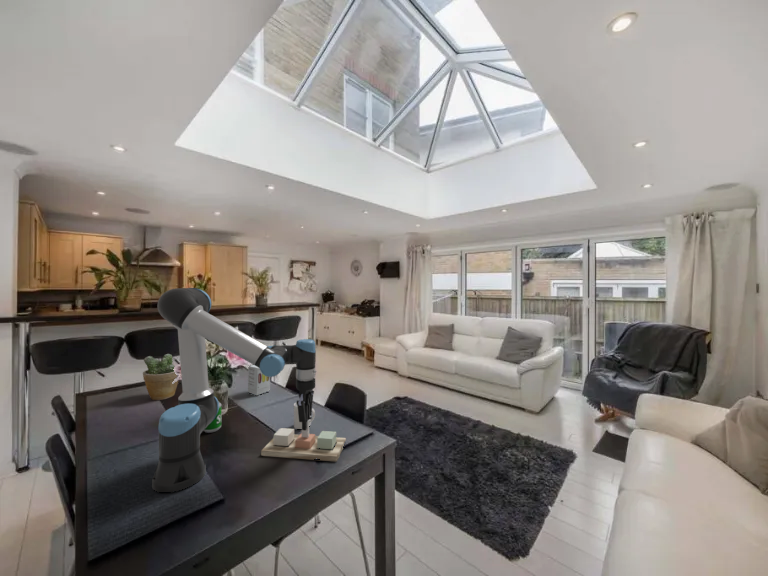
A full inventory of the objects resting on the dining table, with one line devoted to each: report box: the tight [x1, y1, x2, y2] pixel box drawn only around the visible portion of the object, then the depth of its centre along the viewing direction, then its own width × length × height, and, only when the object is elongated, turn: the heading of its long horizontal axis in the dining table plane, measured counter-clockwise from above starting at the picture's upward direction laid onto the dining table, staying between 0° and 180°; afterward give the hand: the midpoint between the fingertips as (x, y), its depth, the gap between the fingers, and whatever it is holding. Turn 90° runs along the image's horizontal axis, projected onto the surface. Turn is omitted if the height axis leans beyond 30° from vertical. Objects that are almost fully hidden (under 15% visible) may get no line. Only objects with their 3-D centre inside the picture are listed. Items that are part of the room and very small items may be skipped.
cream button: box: [273, 427, 295, 447], centre depth 125 cm, size 6×6×4 cm
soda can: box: [202, 400, 223, 434], centre depth 140 cm, size 8×8×12 cm
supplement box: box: [247, 364, 271, 395], centre depth 188 cm, size 10×9×17 cm
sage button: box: [317, 430, 337, 450], centre depth 123 cm, size 6×6×4 cm
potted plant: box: [142, 353, 179, 401], centre depth 180 cm, size 18×19×25 cm
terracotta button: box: [295, 432, 316, 449], centre depth 124 cm, size 6×6×4 cm
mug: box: [293, 401, 316, 430], centre depth 143 cm, size 12×8×10 cm, turn 53°
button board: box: [260, 433, 347, 462], centre depth 124 cm, size 14×30×2 cm, turn 83°
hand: (305, 436), depth 124 cm, fingers closed
